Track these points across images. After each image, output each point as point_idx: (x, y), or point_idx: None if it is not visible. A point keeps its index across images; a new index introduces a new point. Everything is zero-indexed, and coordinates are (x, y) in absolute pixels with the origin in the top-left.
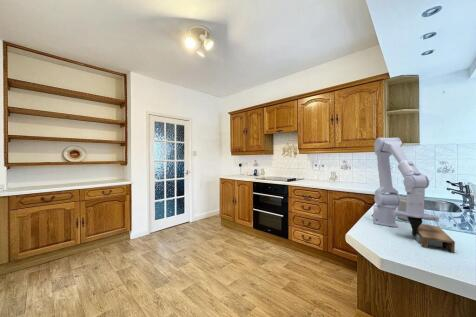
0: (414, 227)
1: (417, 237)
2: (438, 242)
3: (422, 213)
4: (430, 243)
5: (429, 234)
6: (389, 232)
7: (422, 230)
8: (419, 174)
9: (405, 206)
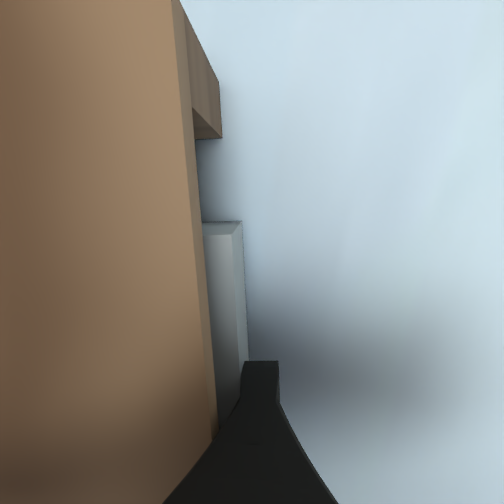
0: (266, 458)
1: (238, 286)
2: None
3: None
4: None
5: (40, 254)
6: (493, 424)
7: (139, 441)
8: None
9: None
